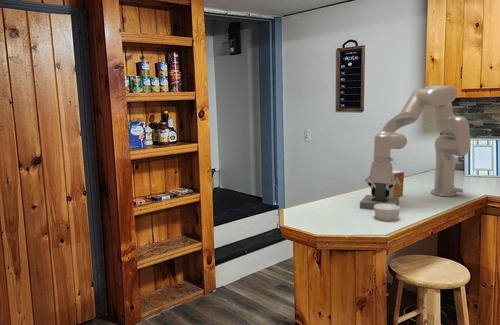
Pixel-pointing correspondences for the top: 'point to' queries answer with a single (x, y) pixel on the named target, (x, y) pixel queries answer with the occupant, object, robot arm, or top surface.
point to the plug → (380, 192)
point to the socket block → (376, 202)
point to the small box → (398, 188)
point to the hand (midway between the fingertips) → (380, 196)
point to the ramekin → (386, 211)
